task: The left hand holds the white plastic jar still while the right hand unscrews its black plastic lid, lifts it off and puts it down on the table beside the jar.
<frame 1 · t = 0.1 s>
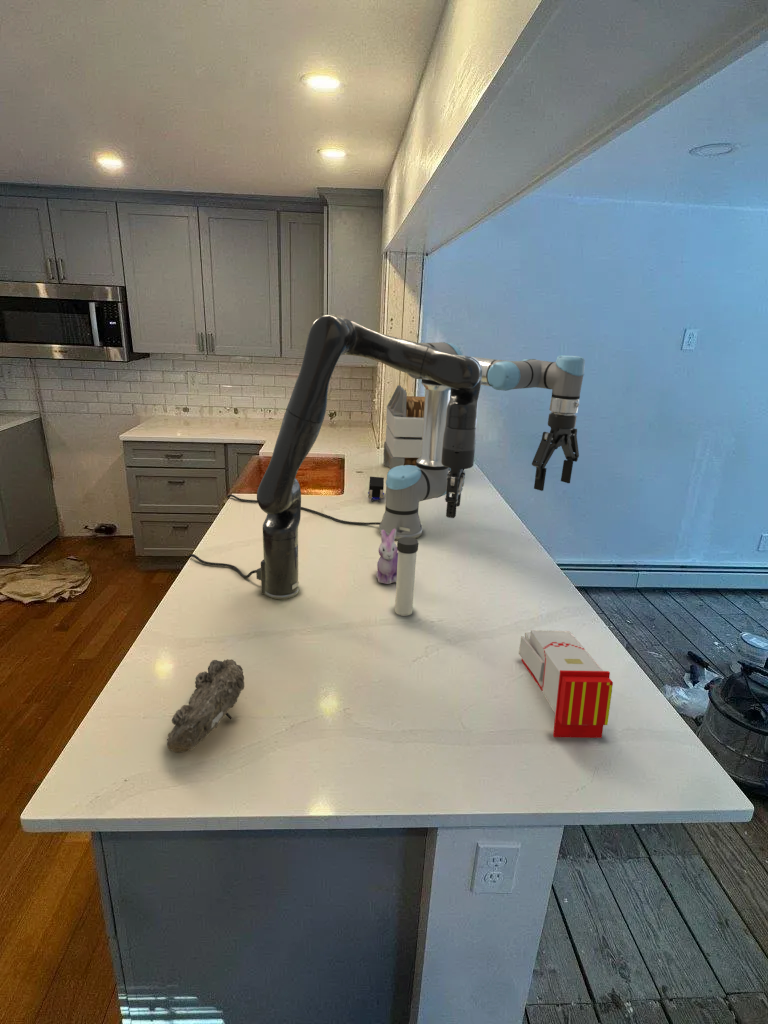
left hand: (453, 511, 137), 29 cm above the counter, tool pointing down, fingers open, 8 cm apart
right hand: (552, 485, 166), 28 cm above the counter, tool pointing down, fingers open, 13 cm apart
tiered storage shelf: (419, 473, 275), on the counter
toy: (554, 692, 120), on the counter
jar: (403, 611, 149), on the counter
feather: (277, 515, 212), on the counter
figurine: (389, 578, 167), on the counter
figurine character: (375, 498, 236), on the counter
lid: (407, 542, 142), point 20 cm above the counter, screwed on, not yet turned
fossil: (212, 717, 108), on the counter
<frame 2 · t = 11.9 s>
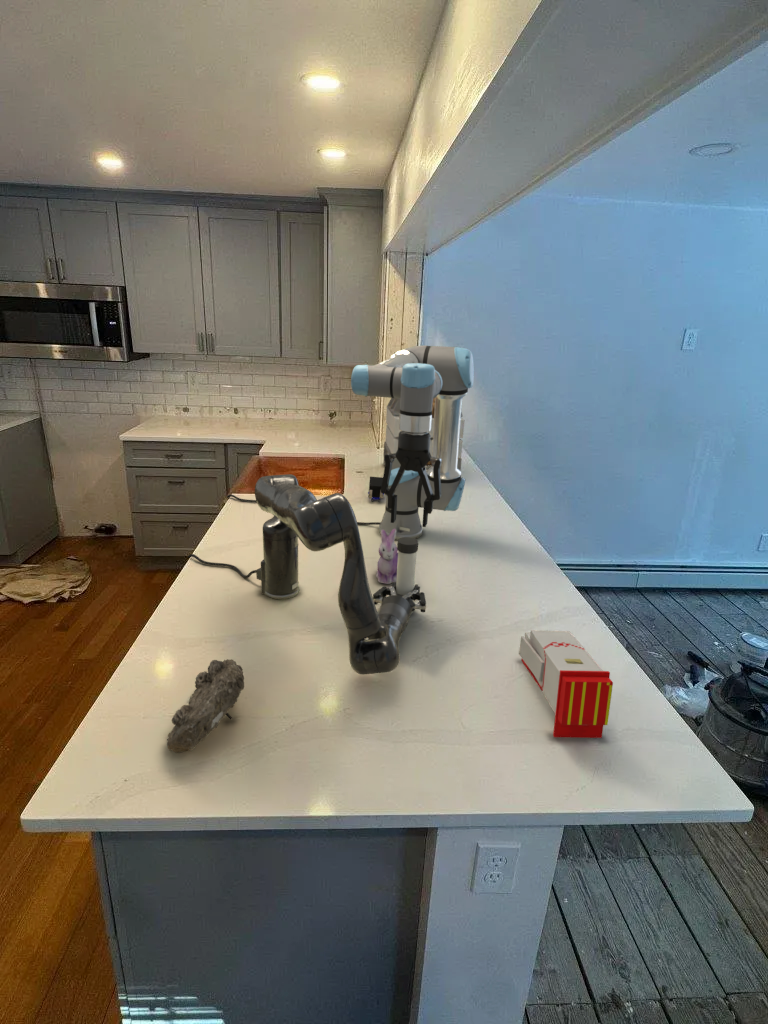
left hand: (406, 586, 149), 6 cm above the counter, tool horizontal, fingers closed on jar, 4 cm apart
right hand: (409, 522, 141), 25 cm above the counter, tool pointing down, fingers open, 7 cm apart
jar: (403, 611, 149), on the counter, touching left hand
everything else where it was.
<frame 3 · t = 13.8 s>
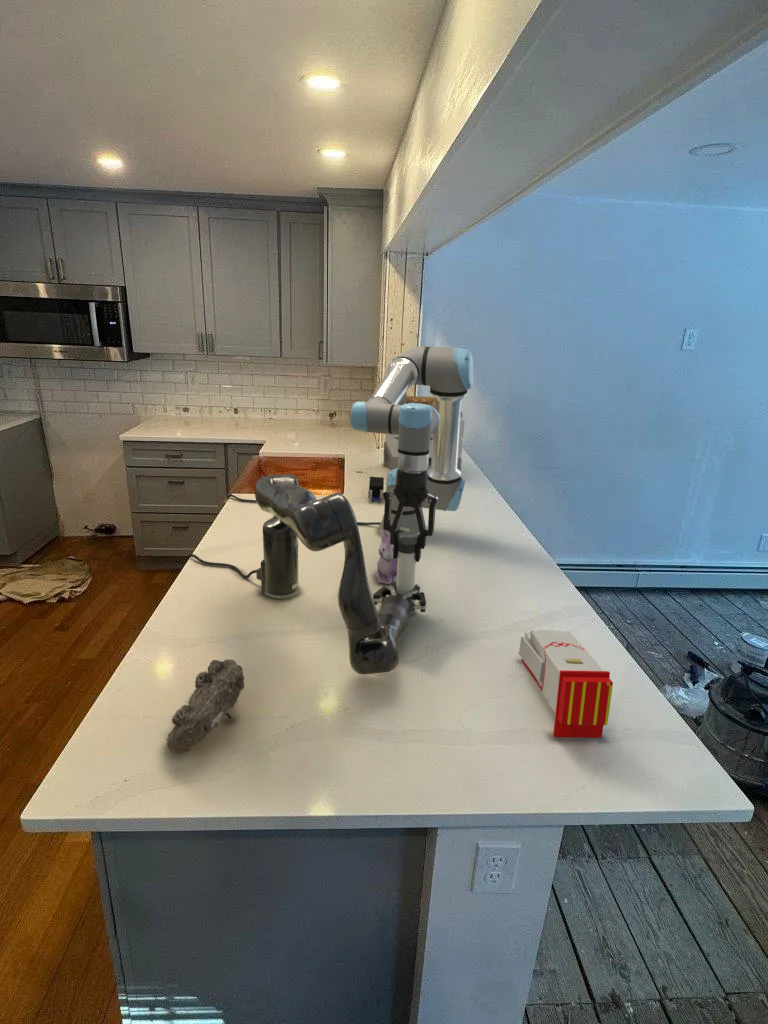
left hand: (406, 586, 149), 6 cm above the counter, tool horizontal, fingers closed on jar, 4 cm apart
right hand: (406, 557, 144), 15 cm above the counter, tool pointing down, fingers closed on lid, 5 cm apart
jar: (403, 611, 149), on the counter, touching left hand
lid: (407, 542, 142), point 20 cm above the counter, screwed on, not yet turned, touching right hand
everything else where it was.
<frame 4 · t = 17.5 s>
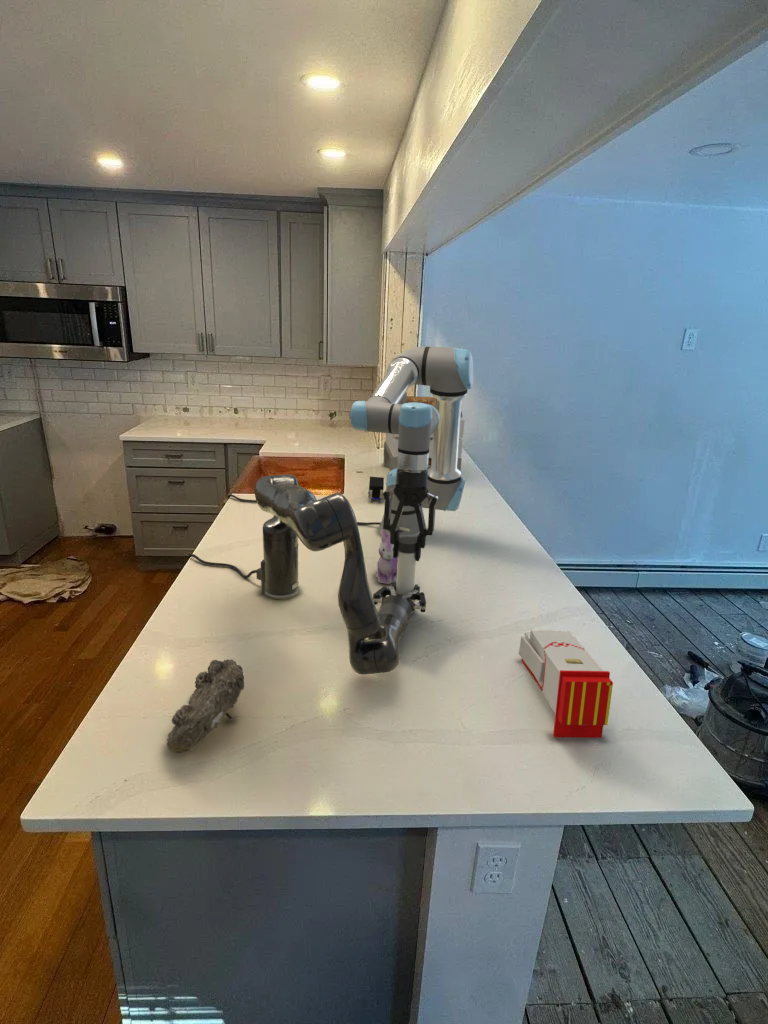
left hand: (406, 586, 149), 6 cm above the counter, tool horizontal, fingers closed on jar, 4 cm apart
right hand: (406, 557, 144), 16 cm above the counter, tool pointing down, fingers closed on lid, 5 cm apart
jar: (403, 611, 149), on the counter, touching left hand
lid: (407, 541, 142), point 20 cm above the counter, turned 131° so far, risen 0.2 cm, still on its thread, touching right hand
everything else where it was.
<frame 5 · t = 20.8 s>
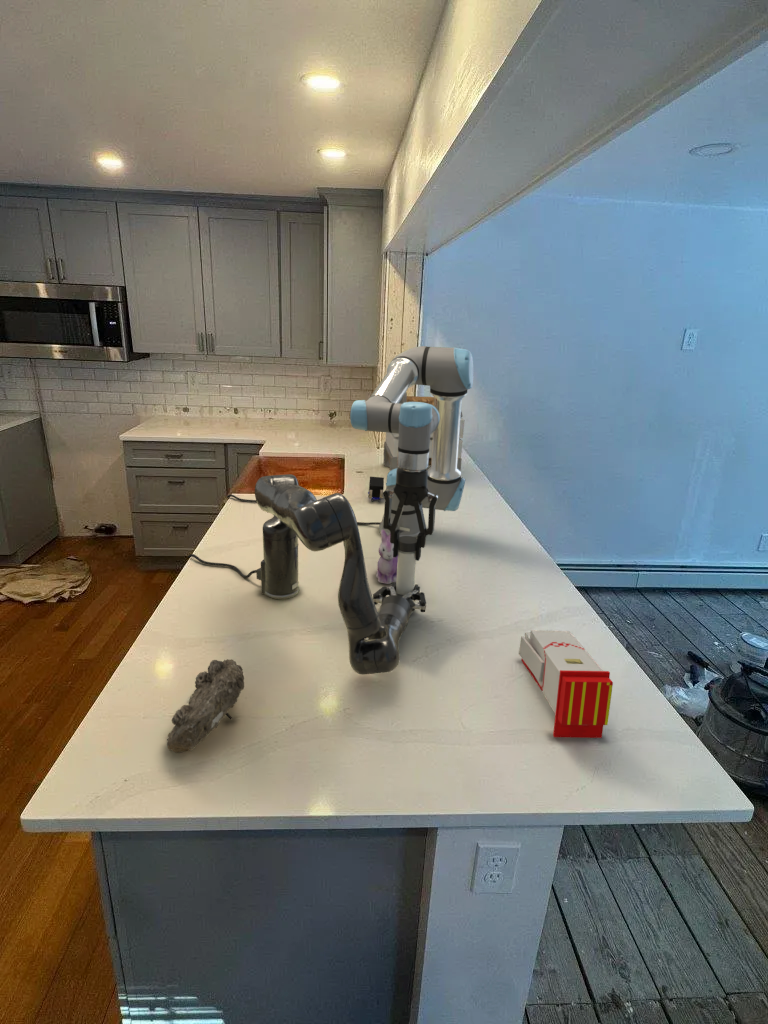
left hand: (406, 586, 149), 6 cm above the counter, tool horizontal, fingers closed on jar, 4 cm apart
right hand: (406, 556, 144), 16 cm above the counter, tool pointing down, fingers closed on lid, 5 cm apart
jar: (403, 611, 149), on the counter, touching left hand
lid: (407, 540, 142), point 20 cm above the counter, turned 263° so far, risen 0.3 cm, still on its thread, touching right hand
everything else where it was.
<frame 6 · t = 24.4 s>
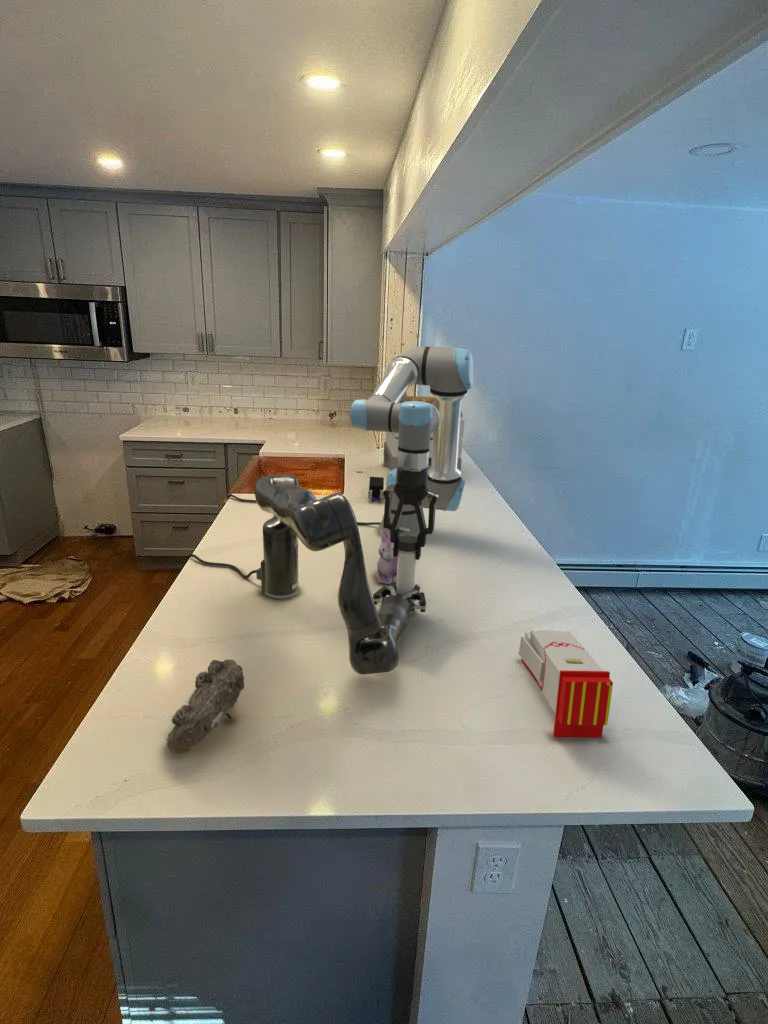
left hand: (406, 586, 149), 6 cm above the counter, tool horizontal, fingers closed on jar, 4 cm apart
right hand: (407, 555, 144), 16 cm above the counter, tool pointing down, fingers closed on lid, 5 cm apart
jar: (403, 611, 149), on the counter, touching left hand
lid: (407, 540, 142), point 20 cm above the counter, turned 394° so far, risen 0.5 cm, still on its thread, touching right hand
everything else where it was.
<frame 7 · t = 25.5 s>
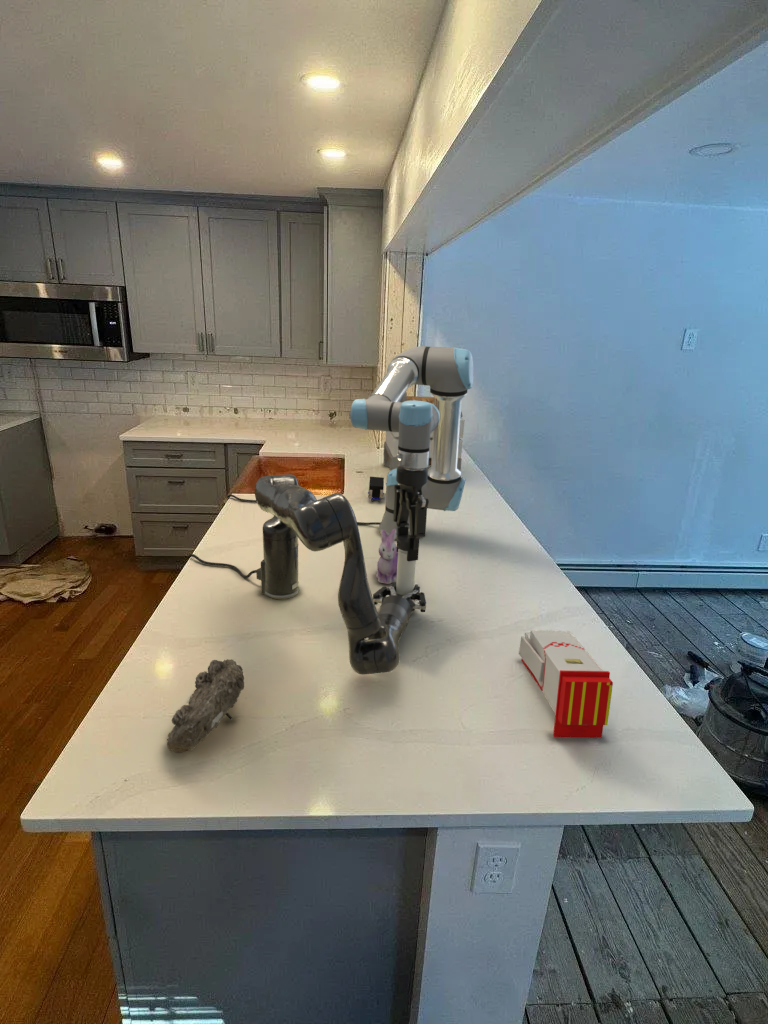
left hand: (406, 586, 149), 6 cm above the counter, tool horizontal, fingers closed on jar, 4 cm apart
right hand: (407, 555, 144), 16 cm above the counter, tool pointing down, fingers closed on lid, 5 cm apart
jar: (403, 611, 149), on the counter, touching left hand
lid: (408, 539, 142), point 20 cm above the counter, off its thread, touching right hand
everything else where it was.
when the right hand's fingers open (0 cm above the counter, at t = 31.0 s): lid drops 2 cm, point 2 cm above the counter.
when the left hand's fingers open (6 cm above the counter, at t = 32.1 s): jar stays where it is, on the counter.
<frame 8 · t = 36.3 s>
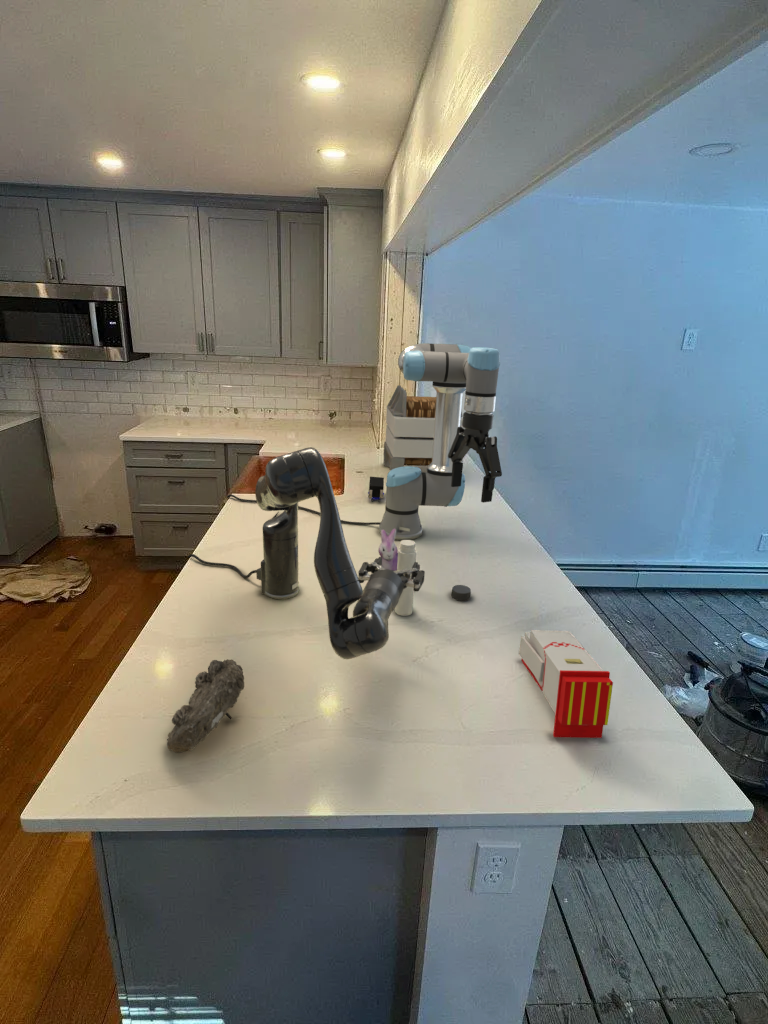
left hand: (398, 563, 133), 19 cm above the counter, tool horizontal, fingers open, 8 cm apart
right hand: (470, 493, 148), 30 cm above the counter, tool pointing down, fingers open, 13 cm apart
jar: (403, 611, 149), on the counter
lid: (461, 590, 157), point 2 cm above the counter, off its thread
everything else where it was.
at the end: lid came off its thread; lid point 2.0 cm above the counter; the left hand is holding nothing; the right hand is holding nothing; jar tilted 0°; jar moved 0.0 cm from its start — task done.
